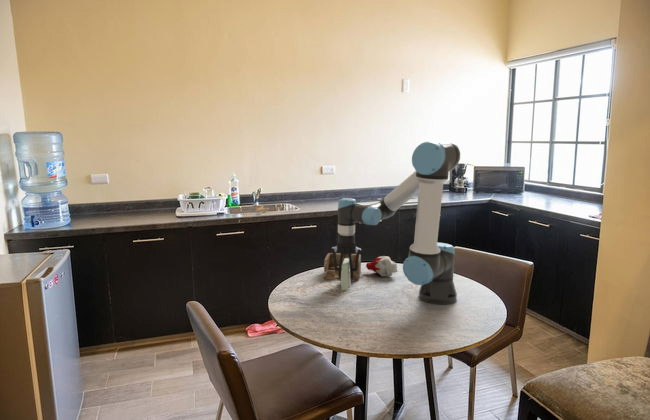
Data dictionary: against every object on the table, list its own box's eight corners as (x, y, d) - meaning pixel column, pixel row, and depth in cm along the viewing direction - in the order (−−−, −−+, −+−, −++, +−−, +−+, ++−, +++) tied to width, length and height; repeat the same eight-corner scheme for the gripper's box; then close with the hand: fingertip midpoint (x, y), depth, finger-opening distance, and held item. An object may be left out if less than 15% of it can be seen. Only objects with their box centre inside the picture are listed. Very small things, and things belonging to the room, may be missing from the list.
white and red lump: (397, 277, 207) (365, 279, 209) (398, 270, 218) (367, 272, 220) (396, 259, 205) (363, 261, 208) (396, 252, 216) (365, 254, 219)
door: (344, 281, 204) (344, 258, 202) (349, 281, 204) (350, 258, 201) (341, 289, 193) (341, 265, 191) (347, 290, 193) (347, 265, 191)
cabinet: (360, 272, 216) (360, 254, 214) (358, 281, 203) (358, 262, 202) (328, 270, 218) (328, 252, 217) (323, 279, 206) (323, 261, 204)
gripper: (365, 232, 196) (364, 282, 201) (329, 230, 199) (329, 280, 203) (363, 236, 189) (362, 288, 194) (327, 235, 191) (327, 286, 196)
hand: (345, 284), depth 198 cm, fingers open, 3 cm apart
